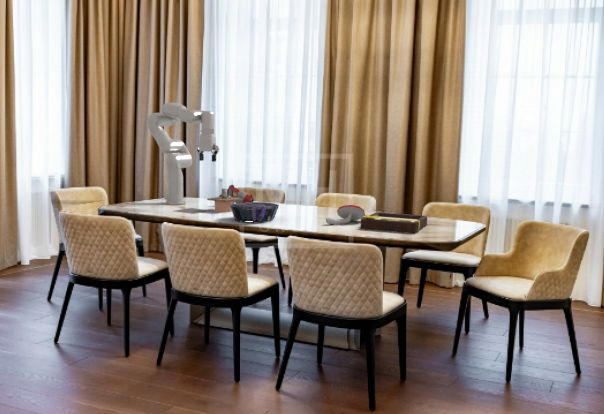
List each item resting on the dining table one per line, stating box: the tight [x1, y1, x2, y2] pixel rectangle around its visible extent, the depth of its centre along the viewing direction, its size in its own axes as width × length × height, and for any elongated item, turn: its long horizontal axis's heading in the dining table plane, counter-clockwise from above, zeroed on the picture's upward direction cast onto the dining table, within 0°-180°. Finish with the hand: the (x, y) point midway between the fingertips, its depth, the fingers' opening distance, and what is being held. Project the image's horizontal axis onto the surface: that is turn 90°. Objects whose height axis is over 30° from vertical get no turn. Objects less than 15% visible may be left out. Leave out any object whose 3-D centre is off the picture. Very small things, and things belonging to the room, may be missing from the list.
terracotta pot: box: [214, 201, 235, 213], centre depth 381 cm, size 11×11×7 cm
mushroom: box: [325, 204, 366, 225], centre depth 352 cm, size 13×26×10 cm, turn 117°
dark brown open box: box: [360, 211, 428, 234], centre depth 341 cm, size 28×7×30 cm
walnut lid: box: [206, 188, 241, 202], centre depth 381 cm, size 14×14×6 cm
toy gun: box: [218, 184, 255, 203], centre depth 402 cm, size 5×22×15 cm, turn 80°
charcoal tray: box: [174, 207, 212, 215], centre depth 379 cm, size 16×16×1 cm
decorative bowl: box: [229, 201, 280, 223], centre depth 355 cm, size 26×28×10 cm
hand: (207, 161), depth 391 cm, fingers open, 9 cm apart
